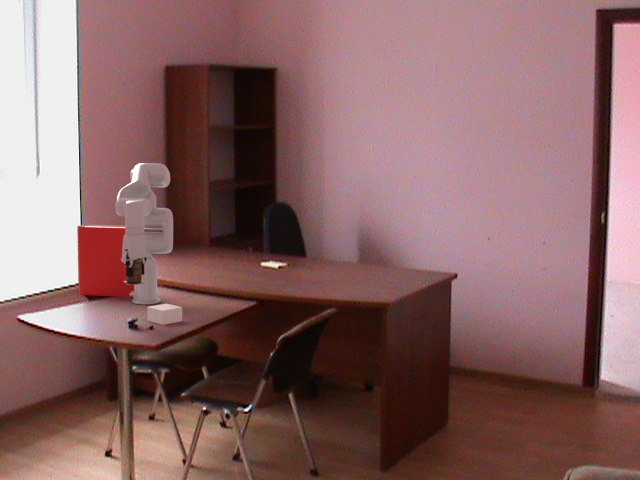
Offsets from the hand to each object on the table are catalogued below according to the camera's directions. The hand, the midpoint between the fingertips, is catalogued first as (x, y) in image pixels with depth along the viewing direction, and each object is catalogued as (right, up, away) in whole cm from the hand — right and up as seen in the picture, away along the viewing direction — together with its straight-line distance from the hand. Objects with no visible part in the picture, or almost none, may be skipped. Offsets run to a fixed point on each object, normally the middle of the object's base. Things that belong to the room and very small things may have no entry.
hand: (135, 275), depth 371 cm
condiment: (0, -3, 0) cm, 3 cm away
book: (-24, -11, +58) cm, 64 cm away
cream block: (+11, -19, +5) cm, 23 cm away
